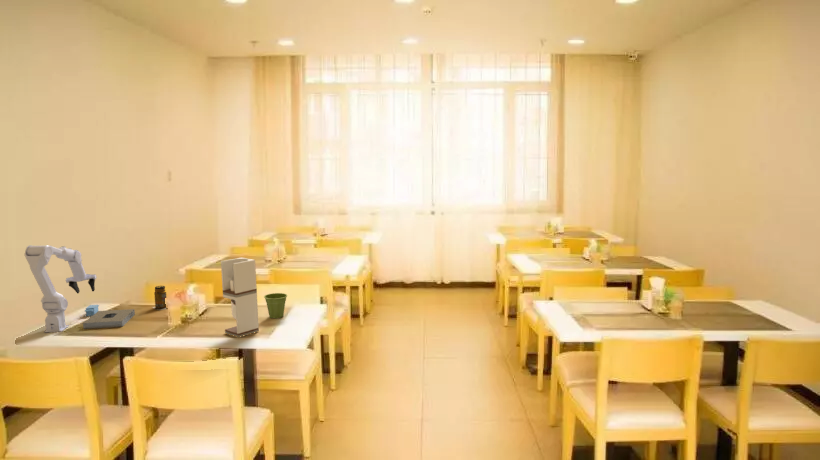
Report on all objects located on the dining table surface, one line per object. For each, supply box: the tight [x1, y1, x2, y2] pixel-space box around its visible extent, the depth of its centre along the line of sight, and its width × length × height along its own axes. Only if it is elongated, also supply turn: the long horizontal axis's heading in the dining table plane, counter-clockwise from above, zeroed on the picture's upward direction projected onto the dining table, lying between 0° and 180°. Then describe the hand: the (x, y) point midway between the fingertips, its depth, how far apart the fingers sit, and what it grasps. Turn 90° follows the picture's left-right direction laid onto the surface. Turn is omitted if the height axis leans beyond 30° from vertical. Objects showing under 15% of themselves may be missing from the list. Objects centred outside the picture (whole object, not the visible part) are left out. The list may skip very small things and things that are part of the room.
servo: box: [84, 304, 100, 317], centre depth 321 cm, size 11×4×4 cm, turn 10°
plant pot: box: [263, 292, 288, 319], centre depth 311 cm, size 12×12×11 cm
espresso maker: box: [220, 257, 260, 338], centre depth 283 cm, size 11×11×35 cm
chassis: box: [82, 308, 136, 330], centre depth 307 cm, size 22×18×3 cm
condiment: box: [152, 285, 167, 311], centre depth 331 cm, size 7×8×12 cm
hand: (86, 291), depth 319 cm, fingers open, 7 cm apart
